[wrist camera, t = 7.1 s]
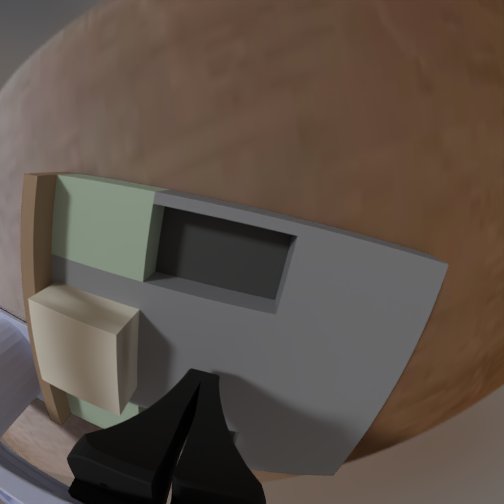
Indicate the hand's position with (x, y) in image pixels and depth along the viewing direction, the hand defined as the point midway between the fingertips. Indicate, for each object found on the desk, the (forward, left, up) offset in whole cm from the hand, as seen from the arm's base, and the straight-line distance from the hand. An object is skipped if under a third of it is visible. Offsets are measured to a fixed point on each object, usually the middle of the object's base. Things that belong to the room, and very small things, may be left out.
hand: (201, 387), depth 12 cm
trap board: (0, 0, -3) cm, 3 cm away
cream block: (-6, 0, -1) cm, 6 cm away
